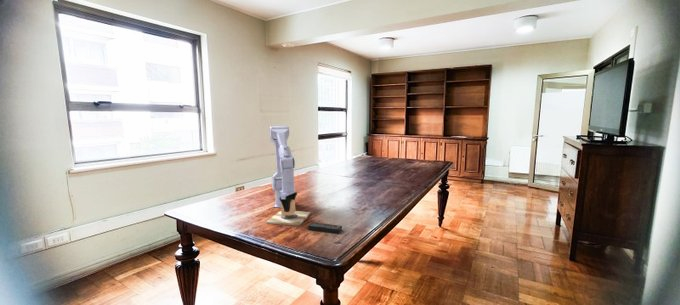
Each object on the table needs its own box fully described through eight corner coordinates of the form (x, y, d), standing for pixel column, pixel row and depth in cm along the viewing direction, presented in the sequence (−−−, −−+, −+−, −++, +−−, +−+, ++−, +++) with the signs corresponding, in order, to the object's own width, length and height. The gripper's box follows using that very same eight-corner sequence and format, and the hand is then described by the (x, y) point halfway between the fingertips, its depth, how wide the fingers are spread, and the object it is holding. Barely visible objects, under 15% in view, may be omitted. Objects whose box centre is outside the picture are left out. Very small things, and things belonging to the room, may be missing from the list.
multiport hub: (312, 226, 129) (312, 221, 128) (342, 230, 123) (342, 225, 123) (307, 230, 125) (307, 225, 124) (338, 234, 119) (338, 229, 119)
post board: (281, 212, 148) (280, 200, 147) (310, 214, 144) (310, 202, 143) (266, 223, 132) (265, 210, 132) (298, 226, 129) (298, 213, 128)
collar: (285, 211, 141) (284, 199, 140) (295, 211, 140) (294, 199, 139) (281, 214, 136) (280, 202, 135) (291, 215, 135) (291, 202, 134)
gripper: (285, 178, 144) (286, 204, 145) (273, 185, 130) (275, 214, 131) (298, 178, 143) (299, 205, 144) (288, 185, 128) (289, 215, 130)
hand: (289, 209), depth 138 cm, fingers closed on collar, 5 cm apart
